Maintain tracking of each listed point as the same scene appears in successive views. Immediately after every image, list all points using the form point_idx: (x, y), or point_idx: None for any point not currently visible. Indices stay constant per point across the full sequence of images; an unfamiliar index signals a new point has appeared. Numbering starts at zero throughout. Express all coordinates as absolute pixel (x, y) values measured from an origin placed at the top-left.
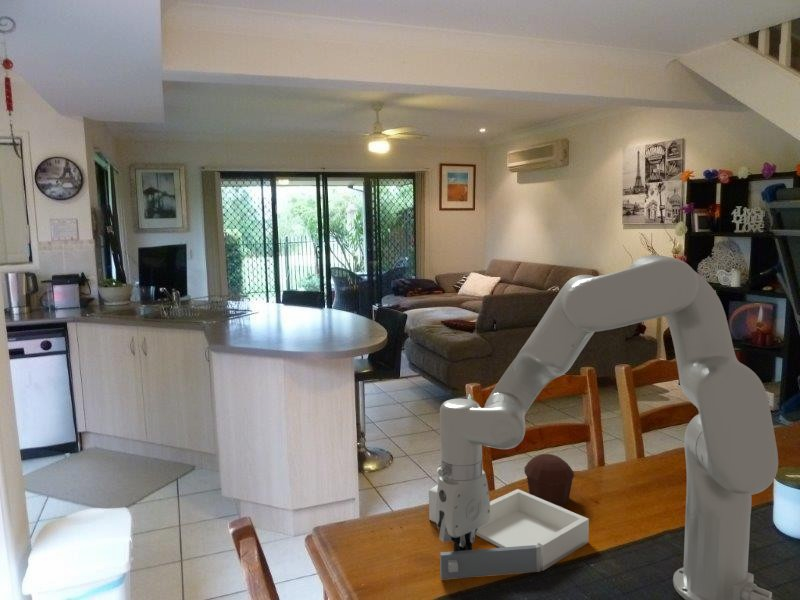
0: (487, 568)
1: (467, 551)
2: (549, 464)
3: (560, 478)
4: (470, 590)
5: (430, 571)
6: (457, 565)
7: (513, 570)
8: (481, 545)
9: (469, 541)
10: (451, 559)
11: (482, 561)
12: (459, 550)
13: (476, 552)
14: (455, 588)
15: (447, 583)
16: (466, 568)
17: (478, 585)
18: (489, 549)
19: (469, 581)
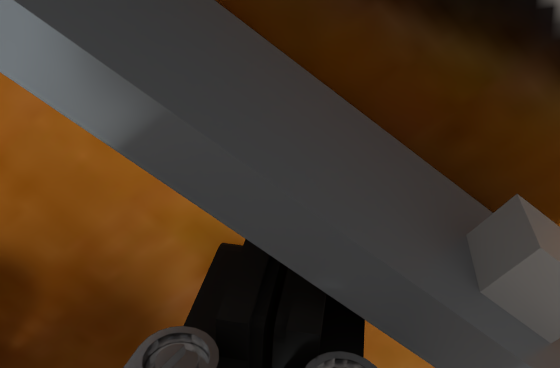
0: (227, 40)
1: (348, 282)
2: None
3: None
4: (500, 11)
5: None
6: (540, 234)
7: None
8: (20, 271)
9: (218, 360)
10: (522, 325)
11: (252, 97)
12: (361, 346)
13: (285, 197)
14: (553, 121)
15: (530, 201)
16: (391, 173)
17: (389, 6)
18: (100, 118)
19: (394, 97)
